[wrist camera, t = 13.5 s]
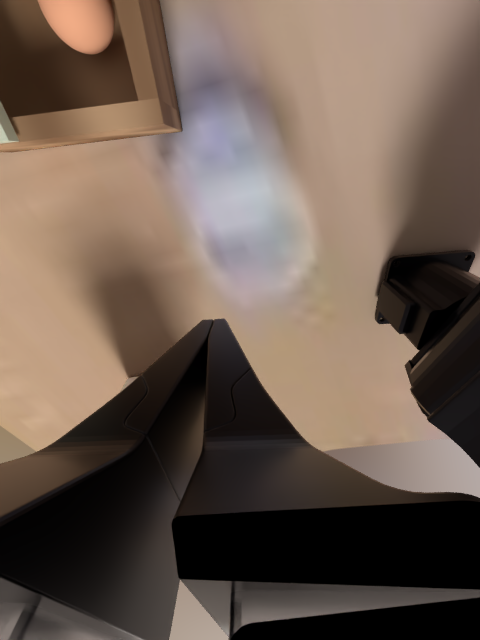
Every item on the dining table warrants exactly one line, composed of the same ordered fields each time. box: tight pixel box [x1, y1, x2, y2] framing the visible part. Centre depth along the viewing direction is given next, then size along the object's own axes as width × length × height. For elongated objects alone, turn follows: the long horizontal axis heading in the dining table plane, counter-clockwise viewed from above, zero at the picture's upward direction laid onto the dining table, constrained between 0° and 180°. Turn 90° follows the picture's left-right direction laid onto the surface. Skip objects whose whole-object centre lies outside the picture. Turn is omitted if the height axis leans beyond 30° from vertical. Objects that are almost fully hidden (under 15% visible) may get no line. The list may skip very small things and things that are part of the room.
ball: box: [38, 0, 114, 54], centre depth 12 cm, size 3×3×3 cm
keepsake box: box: [0, 0, 182, 152], centre depth 12 cm, size 12×10×4 cm
